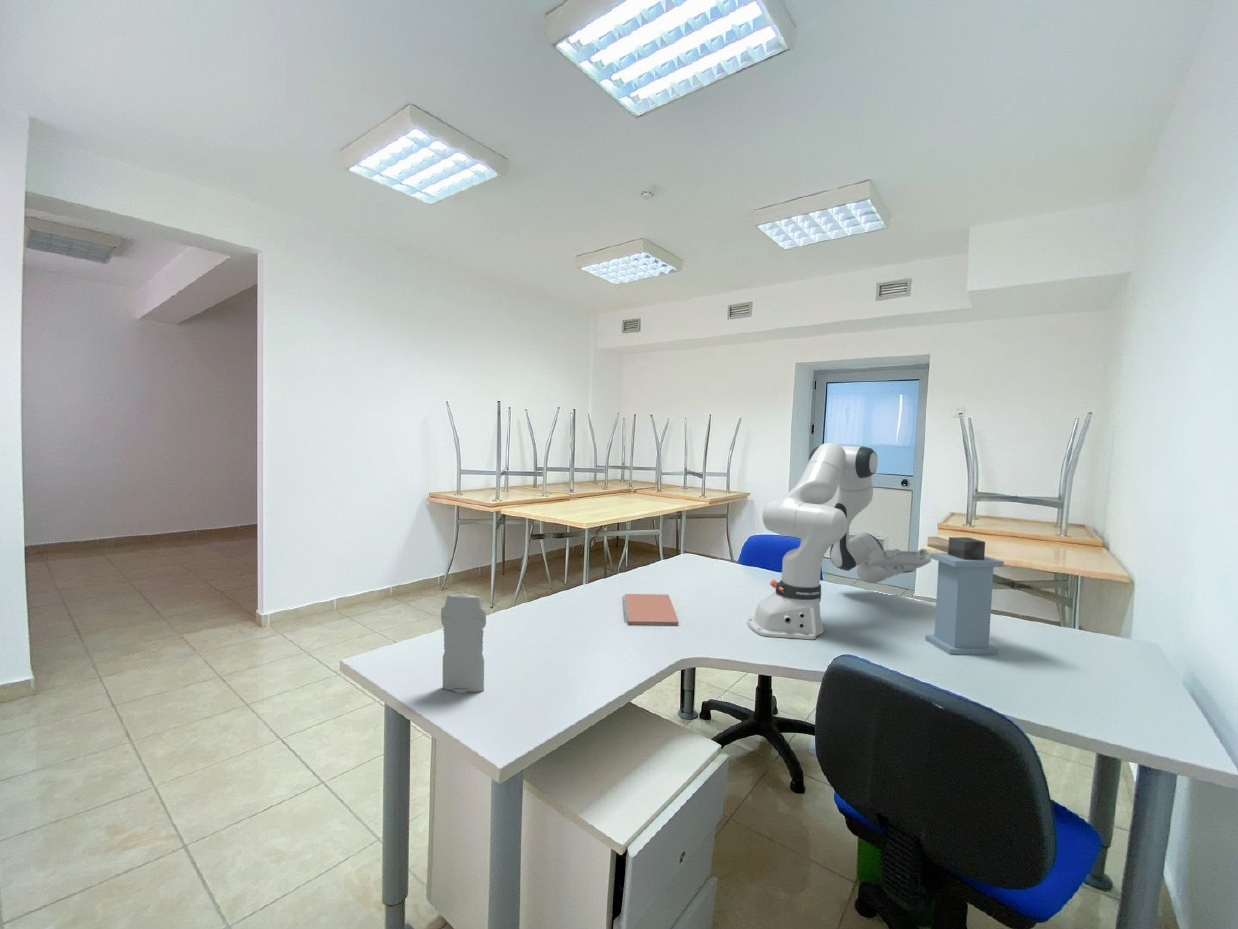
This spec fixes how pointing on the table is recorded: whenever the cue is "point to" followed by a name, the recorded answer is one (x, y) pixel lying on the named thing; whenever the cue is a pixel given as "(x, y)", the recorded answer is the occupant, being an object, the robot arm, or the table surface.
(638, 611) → the notebook
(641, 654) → the table surface
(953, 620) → the stand
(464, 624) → the tall pale column
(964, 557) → the mallet
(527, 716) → the table surface
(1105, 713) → the table surface
